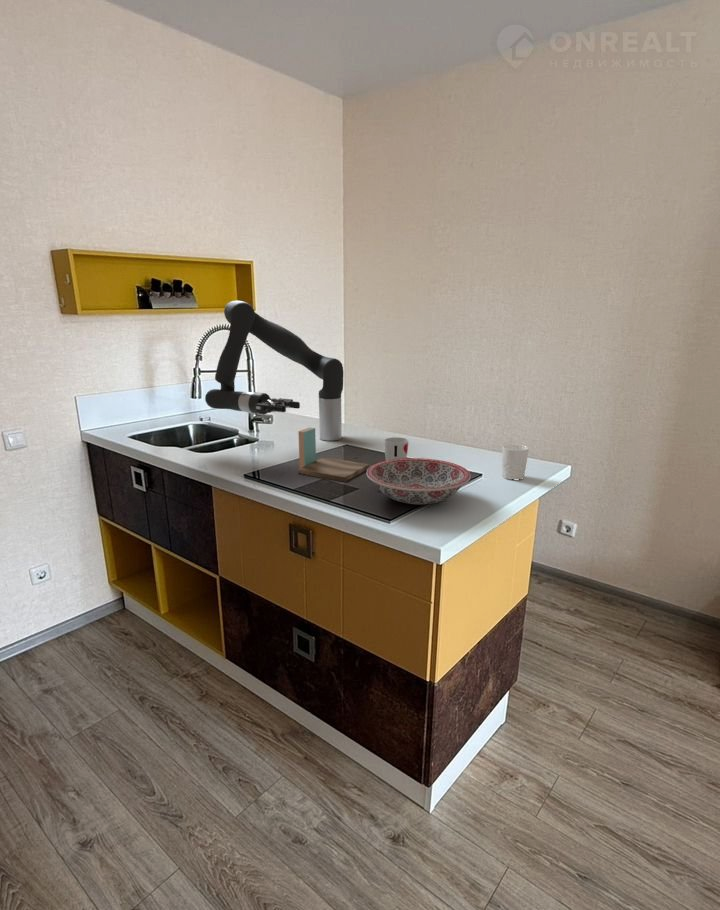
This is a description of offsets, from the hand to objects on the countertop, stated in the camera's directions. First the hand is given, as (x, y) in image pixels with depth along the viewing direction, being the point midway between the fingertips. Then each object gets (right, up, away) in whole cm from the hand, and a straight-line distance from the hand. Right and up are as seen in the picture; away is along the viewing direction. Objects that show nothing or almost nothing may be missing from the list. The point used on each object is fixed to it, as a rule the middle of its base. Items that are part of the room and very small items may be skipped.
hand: (292, 407), depth 177 cm
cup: (+35, -21, 0) cm, 41 cm away
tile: (+5, -20, +3) cm, 21 cm away
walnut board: (+14, -22, -2) cm, 26 cm away
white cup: (+72, -24, -9) cm, 76 cm away
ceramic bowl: (+39, -29, -28) cm, 56 cm away
